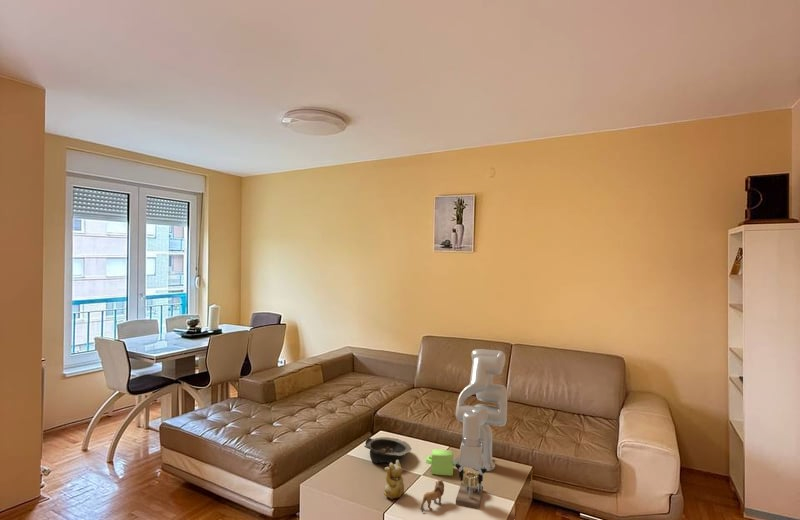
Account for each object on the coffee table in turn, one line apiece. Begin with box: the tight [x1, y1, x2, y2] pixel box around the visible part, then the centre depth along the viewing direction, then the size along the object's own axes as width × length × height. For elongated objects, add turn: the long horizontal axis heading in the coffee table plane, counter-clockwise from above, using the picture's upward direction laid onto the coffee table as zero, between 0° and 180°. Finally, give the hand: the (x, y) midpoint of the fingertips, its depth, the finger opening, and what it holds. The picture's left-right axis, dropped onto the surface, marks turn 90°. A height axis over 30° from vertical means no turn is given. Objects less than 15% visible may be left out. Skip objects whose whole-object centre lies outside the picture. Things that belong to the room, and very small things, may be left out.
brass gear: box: [461, 470, 479, 488], centre depth 185 cm, size 7×7×4 cm
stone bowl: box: [363, 436, 413, 465], centre depth 226 cm, size 25×25×9 cm
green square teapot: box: [425, 448, 460, 477], centre depth 213 cm, size 18×10×10 cm, turn 83°
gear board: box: [455, 482, 484, 509], centre depth 190 cm, size 15×10×6 cm, turn 162°
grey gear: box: [465, 481, 483, 493], centre depth 193 cm, size 7×7×4 cm
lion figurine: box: [420, 479, 445, 513], centre depth 183 cm, size 15×5×9 cm, turn 140°
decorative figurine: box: [383, 460, 405, 501], centre depth 190 cm, size 10×8×15 cm
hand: (470, 480), depth 185 cm, fingers closed on brass gear, 7 cm apart
